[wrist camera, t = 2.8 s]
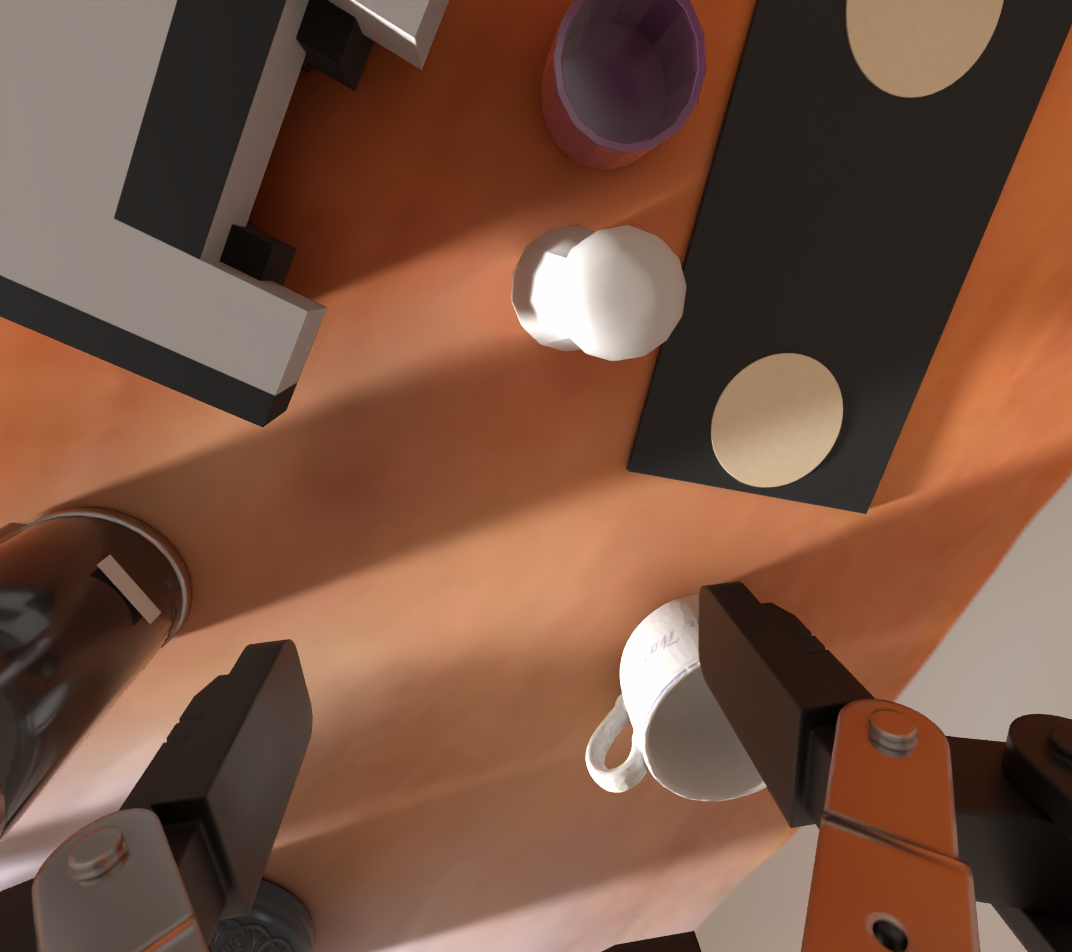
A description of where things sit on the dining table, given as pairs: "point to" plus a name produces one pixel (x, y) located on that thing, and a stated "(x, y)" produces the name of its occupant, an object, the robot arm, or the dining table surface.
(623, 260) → the salt shaker
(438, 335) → the dining table surface
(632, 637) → the teacup
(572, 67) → the purple cup
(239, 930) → the canister
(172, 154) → the game console
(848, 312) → the placemat
